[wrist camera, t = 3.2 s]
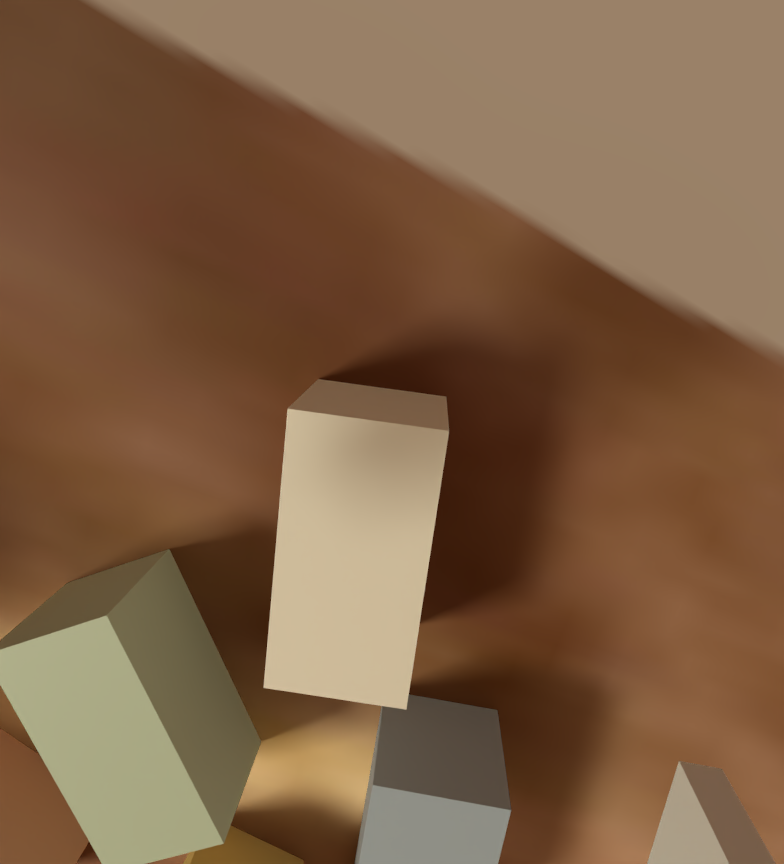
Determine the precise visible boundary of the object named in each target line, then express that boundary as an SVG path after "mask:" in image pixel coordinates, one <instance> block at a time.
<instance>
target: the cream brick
mask: <svg viewBox="0 0 784 864" xmlns="http://www.w3.org/2000/svg"><path fill="white" fill-rule="evenodd" d="M448 436H449V423H448V411H447V399H446V396H438V395H431V394H424V393H417V392H409V391H402V390H395V389H387V388H380V387H373V386H365V385H358V384H351V383H343V382H336V381H329V380H322V379H318V380H317V381H316V382H315V383H314V384H313V385H312V386H311V387H310V388H309V389H308V390H307V391H306V392H305V393H303V394H302V395H301V396H300V397H299V398H298V399H297V400H296V401H295V402H294V403H293V404H292V405H291V406H290V407H289V408H288V411H287V423H286V434H285V446H284V457H283V469H282V480H281V492H280V504H279V515H278V527H277V538H276V550H275V561H274V573H273V584H272V596H271V607H270V619H269V630H268V642H267V653H266V665H265V676H264V688H268V689H274V690H281V691H287V692H294V693H301V694H307V695H314V696H320V697H327V698H333V699H340V700H347V701H353V702H360V703H366V704H373V705H379V706H386V707H392V708H399V709H407V702H408V696H409V689H410V683H411V676H412V670H413V663H414V657H415V650H416V644H417V637H418V631H419V624H420V618H421V611H422V605H423V598H424V592H425V585H426V579H427V572H428V566H429V559H430V553H431V546H432V540H433V533H434V527H435V520H436V514H437V507H438V501H439V494H440V488H441V481H442V475H443V468H444V462H445V455H446V449H447V442H448Z"/></svg>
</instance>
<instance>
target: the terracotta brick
mask: <svg viewBox="0 0 784 864" xmlns="http://www.w3.org/2000/svg"><path fill="white" fill-rule="evenodd" d="M88 843H89V840H88V838H87V837H86V835H85V833H84V831H83V830H82V828H81V826H80V824H79V823H78V821H77V819H76V817H75V816H74V814H73V812H72V810H71V809H70V807H69V805H68V803H67V802H66V800H65V798H64V796H63V795H62V793H61V791H60V789H59V787H58V786H57V784H56V782H55V780H54V779H53V777H52V775H51V773H50V772H49V770H48V768H47V766H46V765H45V763H44V761H43V759H42V758H41V756H40V755H39V754H38V753H36V752H35V751H33V750H32V749H30V748H29V747H27V746H26V745H24V744H23V743H21V742H20V741H18V740H17V739H15V738H14V737H13V736H11V735H10V734H8V733H7V732H5V731H4V730H2V729H1V728H0V864H76V862H77V861H78V859H79V857H80V856H81V854H82V852H83V851H84V849H85V847H86V846H87V844H88Z"/></svg>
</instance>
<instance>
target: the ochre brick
mask: <svg viewBox="0 0 784 864" xmlns="http://www.w3.org/2000/svg"><path fill="white" fill-rule="evenodd" d="M303 863H304V860H302V859H300V858H298V857H296V856H294V855H292V854H290V853H287V852H285V851H283V850H281V849H279V848H277V847H275V846H273V845H271V844H269V843H266V842H264V841H262V840H260V839H258V838H256V837H254V836H252V835H250V834H248V833H245V832H243V831H241V830H239V829H237V828H235V827H233V826H231V825H230V828H229V831H228V834H227V836H226V839H225V842H224V844H221V845H217V846H213V847H209V848H205V849H201V850H197V851H193V852H189V854H188V856H187V857H186V859H185V861H184V863H183V864H303Z"/></svg>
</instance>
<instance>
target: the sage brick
mask: <svg viewBox="0 0 784 864" xmlns="http://www.w3.org/2000/svg"><path fill="white" fill-rule="evenodd" d="M0 686H1V687H2V689H3V691H4V693H5V694H6V696H7V698H8V700H9V701H10V703H11V705H12V707H13V709H14V710H15V712H16V714H17V716H18V717H19V719H20V721H21V723H22V724H23V726H24V728H25V730H26V731H27V733H28V735H29V737H30V738H31V740H32V742H33V744H34V745H35V747H36V749H37V751H38V752H39V754H40V756H41V758H42V759H43V761H44V763H45V765H46V766H47V768H48V770H49V772H50V773H51V775H52V777H53V779H54V780H55V782H56V784H57V786H58V787H59V789H60V791H61V793H62V795H63V796H64V798H65V800H66V802H67V803H68V805H69V807H70V809H71V810H72V812H73V814H74V816H75V817H76V819H77V821H78V823H79V824H80V826H81V828H82V830H83V831H84V833H85V835H86V837H87V838H88V840H89V842H90V844H91V845H92V847H93V849H94V851H95V852H96V854H97V856H98V858H99V859H100V861H101V863H102V864H146V863H150V862H154V861H158V860H162V859H166V858H169V857H173V856H177V855H181V854H185V853H189V852H193V851H197V850H201V849H205V848H209V847H213V846H217V845H221V844H224V842H225V839H226V836H227V834H228V831H229V828H230V825H231V823H232V820H233V817H234V815H235V812H236V809H237V806H238V804H239V801H240V798H241V795H242V793H243V790H244V787H245V785H246V782H247V779H248V776H249V774H250V771H251V768H252V765H253V763H254V760H255V757H256V755H257V752H258V749H259V746H260V744H261V740H260V738H259V736H258V734H257V732H256V729H255V727H254V725H253V723H252V721H251V719H250V717H249V715H248V713H247V711H246V709H245V706H244V704H243V702H242V700H241V698H240V696H239V694H238V692H237V690H236V688H235V685H234V683H233V681H232V679H231V677H230V675H229V673H228V671H227V669H226V667H225V665H224V662H223V660H222V658H221V656H220V654H219V652H218V650H217V648H216V646H215V644H214V642H213V639H212V637H211V635H210V633H209V631H208V629H207V627H206V625H205V623H204V621H203V618H202V616H201V614H200V612H199V610H198V608H197V606H196V604H195V602H194V600H193V598H192V595H191V593H190V591H189V589H188V587H187V585H186V583H185V581H184V579H183V577H182V575H181V572H180V570H179V568H178V566H177V564H176V562H175V560H174V558H173V556H172V554H171V551H170V549H168V550H165V551H162V552H159V553H156V554H153V555H150V556H147V557H144V558H141V559H138V560H135V561H132V562H129V563H126V564H123V565H120V566H117V567H114V568H111V569H108V570H105V571H102V572H99V573H96V574H93V575H90V576H87V577H84V578H81V579H78V580H75V581H72V582H69V583H67V584H65V585H64V586H63V587H62V588H61V589H60V590H58V591H57V592H56V593H55V594H54V595H53V596H51V597H50V598H49V599H48V600H47V601H46V602H44V603H43V604H42V605H41V606H40V607H39V608H37V609H36V610H35V611H34V612H33V613H32V614H30V615H29V616H28V617H27V618H26V619H25V620H23V621H22V622H21V623H20V624H19V625H18V626H16V627H15V628H14V629H13V630H12V631H11V632H10V633H8V634H7V635H6V636H5V637H4V638H3V639H1V640H0Z"/></svg>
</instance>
